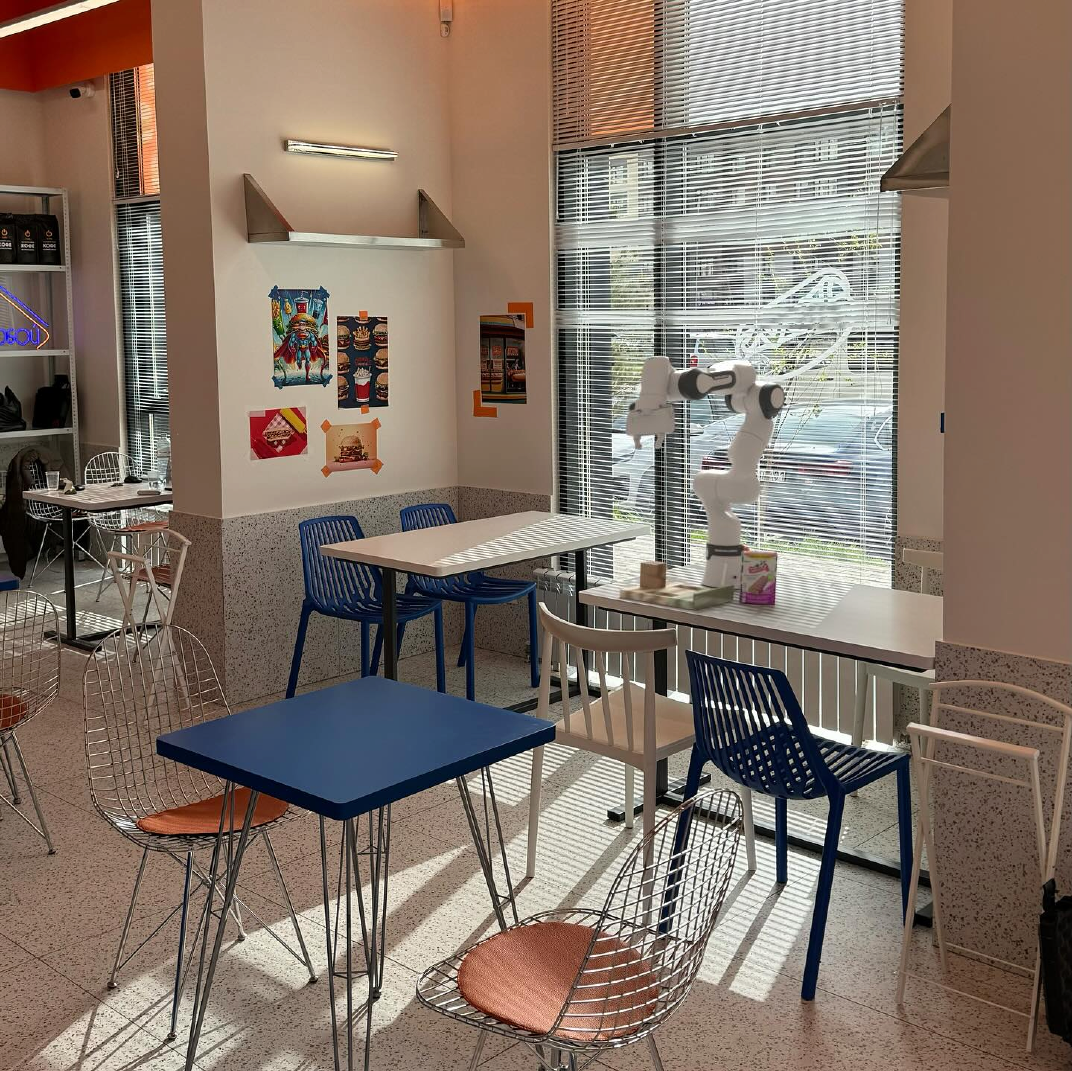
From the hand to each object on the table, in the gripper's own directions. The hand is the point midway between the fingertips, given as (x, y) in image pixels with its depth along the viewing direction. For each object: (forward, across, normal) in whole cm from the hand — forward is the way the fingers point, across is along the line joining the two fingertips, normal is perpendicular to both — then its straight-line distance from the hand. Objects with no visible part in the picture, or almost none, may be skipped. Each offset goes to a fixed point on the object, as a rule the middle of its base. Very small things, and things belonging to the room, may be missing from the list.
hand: (647, 449), depth 395 cm
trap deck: (+46, -1, -17) cm, 49 cm away
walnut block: (+43, +8, -14) cm, 46 cm away
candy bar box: (+45, -20, -35) cm, 60 cm away
